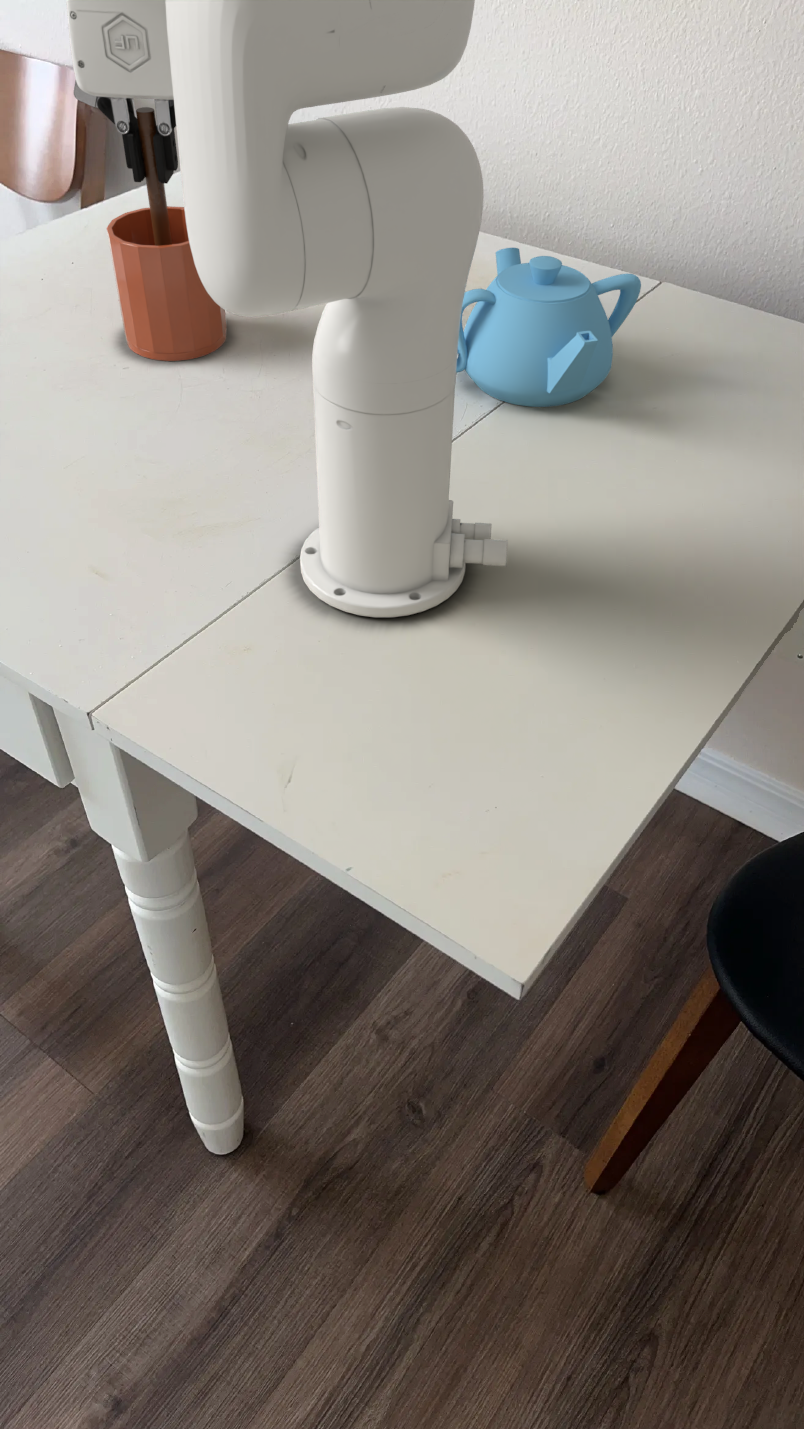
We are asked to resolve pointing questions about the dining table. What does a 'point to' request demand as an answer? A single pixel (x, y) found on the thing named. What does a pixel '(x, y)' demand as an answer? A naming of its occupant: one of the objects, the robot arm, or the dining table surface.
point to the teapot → (541, 331)
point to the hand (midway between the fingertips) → (154, 176)
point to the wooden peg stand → (153, 177)
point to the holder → (162, 290)
